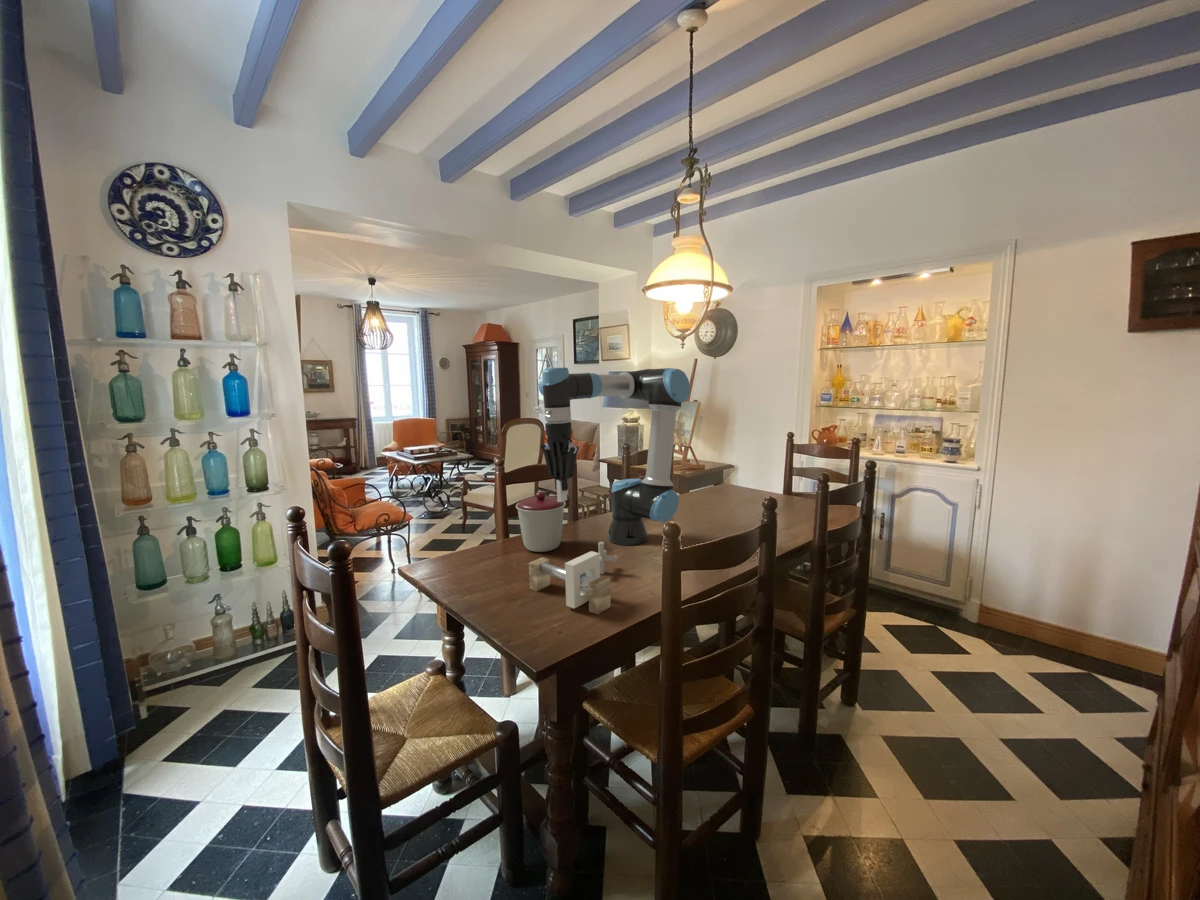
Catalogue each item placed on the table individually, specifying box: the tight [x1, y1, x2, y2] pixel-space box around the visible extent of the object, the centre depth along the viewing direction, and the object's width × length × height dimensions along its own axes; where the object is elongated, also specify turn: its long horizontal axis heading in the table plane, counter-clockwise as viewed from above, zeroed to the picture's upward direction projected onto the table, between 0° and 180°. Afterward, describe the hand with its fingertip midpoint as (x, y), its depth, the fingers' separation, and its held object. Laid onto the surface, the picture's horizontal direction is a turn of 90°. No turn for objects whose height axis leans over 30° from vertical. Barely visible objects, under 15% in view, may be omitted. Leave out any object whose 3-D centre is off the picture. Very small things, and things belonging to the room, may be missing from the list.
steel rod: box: [539, 562, 595, 589], centre depth 134 cm, size 25×3×3 cm, turn 51°
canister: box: [515, 491, 567, 553], centre depth 174 cm, size 18×18×21 cm
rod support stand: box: [528, 557, 612, 615], centre depth 135 cm, size 26×6×8 cm, turn 51°
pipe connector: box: [597, 541, 618, 575], centre depth 151 cm, size 10×10×10 cm
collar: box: [564, 550, 601, 609], centre depth 131 cm, size 3×11×12 cm, turn 141°
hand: (562, 500), depth 141 cm, fingers closed
